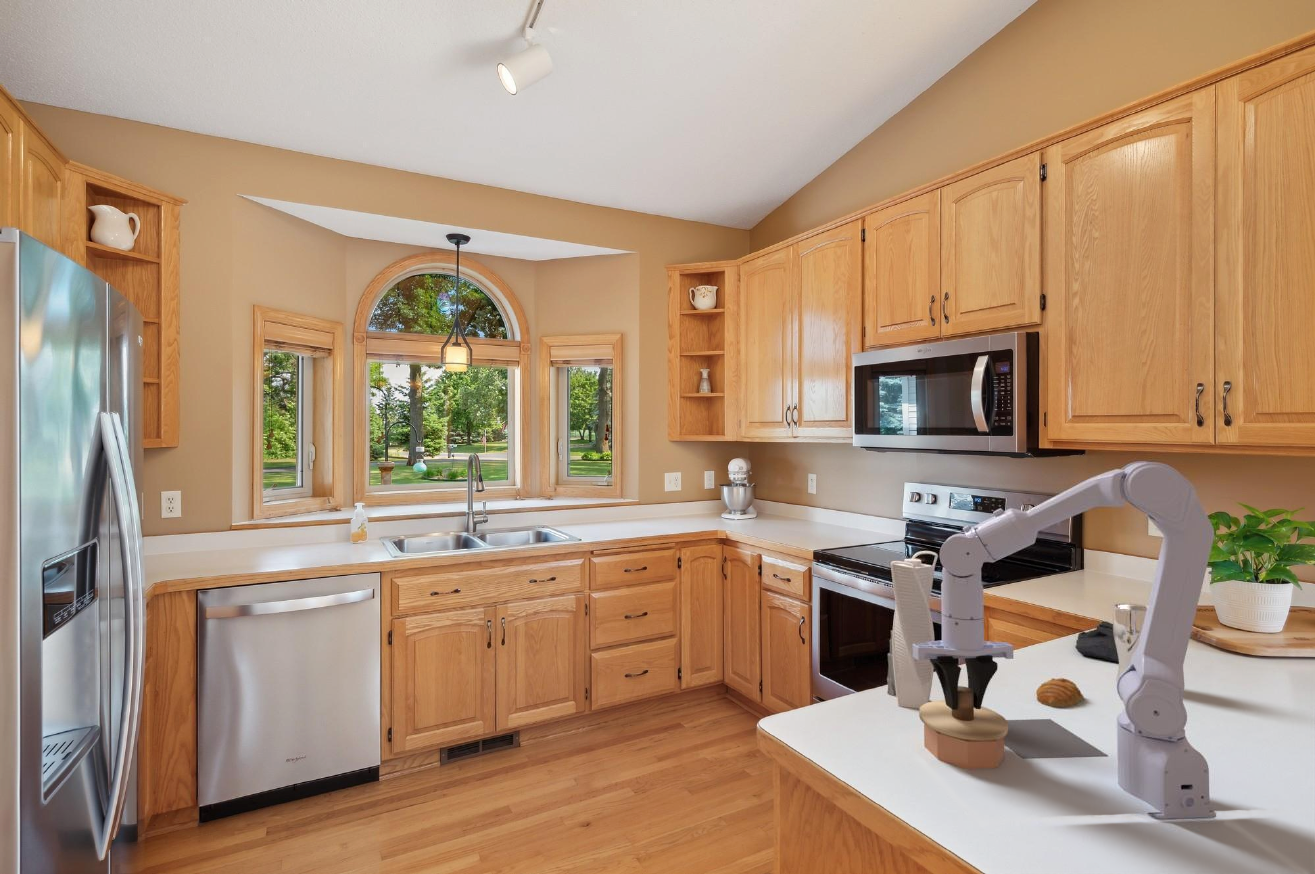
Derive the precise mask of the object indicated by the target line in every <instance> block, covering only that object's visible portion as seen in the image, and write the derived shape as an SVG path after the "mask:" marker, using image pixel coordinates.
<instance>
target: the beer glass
mask: <svg viewBox="0 0 1315 874" xmlns="http://www.w3.org/2000/svg"><path fill="white" fill-rule="evenodd" d="M1147 606H1148V605H1143V604H1136V603H1123V602H1122V603H1114V605H1113V613H1112V616H1113V617H1112V624H1113V634H1114V640H1115V645H1116V650H1117V654H1118V661H1119V663H1118V669H1117V675H1116V682H1117V680H1118V678H1119V676H1120V675H1121V674H1122V673H1123V672H1124V671H1125V670H1126V669H1127V668H1128V667H1129V665H1130V662H1131V658H1132V655H1133V654H1134V652H1135V651H1136V649H1137V648H1138V645H1139V640H1140V636H1141V632H1142V628H1143V623H1144V619H1145V615H1146V611H1147Z"/></svg>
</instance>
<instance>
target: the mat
mask: <svg viewBox="0 0 1315 874" xmlns="http://www.w3.org/2000/svg"><path fill="white" fill-rule="evenodd" d="M1006 720H1007V722H1008V733H1007V735H1006V736H1004V746H1005V747H1007V748H1008V749H1010V750H1011V752H1013V753H1015V754H1016V755H1017V756H1019V757H1020V758H1022V760H1023V759H1025V760H1026V759H1054V758H1055V759H1056V758H1057V759H1058V758H1061V759H1062V758H1089V757H1091V758H1093V757H1094V758H1095V757H1109V755H1108V754H1106V753H1104V752H1103V751H1102V750H1100V749H1099V748H1097V747H1096V746H1094V745H1093V744H1090V743H1089V742H1087V741H1086V740H1085V739H1082V738H1081V737H1079V736H1078V735H1076V734H1074V733H1073V732H1071V731H1070V730H1068V729H1067V728H1065V727H1063V726H1062V725H1061V724H1058V723H1057V722H1055V721H1054V720H1053V719H1051V718H1042V719H1041V718H1037V719H1036V718H1035V719H1032V718H1031V719H1006Z"/></svg>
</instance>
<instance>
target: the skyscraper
mask: <svg viewBox="0 0 1315 874" xmlns="http://www.w3.org/2000/svg"><path fill="white" fill-rule="evenodd" d="M920 555H932V556H934V560H933V563H932V565H931V564H927V563H922V560H921V559H919V558H918V559H917V558H916V557H918V556H920ZM938 558H939V555H938V553H936V552H934V551H930V550H923V551H922V550H920V551H917V552H915V553H914V555H913V556H912V557H911V558H905V559H904V561H903V560H893V561H891V563H890V569H891V578H892V584H893V585H892V586H893V593H894V600H895V607H894V608H895V610H894V613H893V614H894V615H893V622H892V623H893V625H892V630H890V639H889V652H888V653H887V662H888V668H887V677H886V681H887V694H888V695H889V696H896V702H897V707H903V708H904V707H905V708H912V709H919V710H920V707H921V706H922V705H924V704H925V703H928V702H929V701H930V698H931V693H932V686H933V678H934V671H935V669H934V667H933V665H932V663H931V662H930V659H925V660H921V661H919V660H917V659H916V658H914V657H913V644H918V643H927V642H933V641H935V631H934V624H933V619H932V614H931V610H930V601H931V597H932V596H931V595H932V589H933V582H934V574H935V568H936V563H937V560H938Z"/></svg>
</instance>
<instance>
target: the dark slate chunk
mask: <svg viewBox="0 0 1315 874" xmlns="http://www.w3.org/2000/svg"><path fill="white" fill-rule="evenodd" d="M1075 649H1076V650H1077V652H1078V653H1079V654H1081V655H1083V656H1085V655H1089V656H1088V657H1092V656H1093V657H1094V658H1096V657H1099V658H1098V659H1101V658H1103V659H1102V660H1105V659H1107V660H1106V661H1108V660H1109V662H1113V661H1114V663H1116V662H1117V663H1118V662H1119V661H1118V654H1117V650H1116V645H1115V640H1114V634H1113V623H1111V622H1109V621H1106V620H1105V621H1101V622H1100V623H1099V624H1097V626H1096V628H1095V629H1092V630H1089V631H1081V632H1079V633H1078V636H1077V639H1076V645H1075ZM1093 657H1092V658H1093Z"/></svg>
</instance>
